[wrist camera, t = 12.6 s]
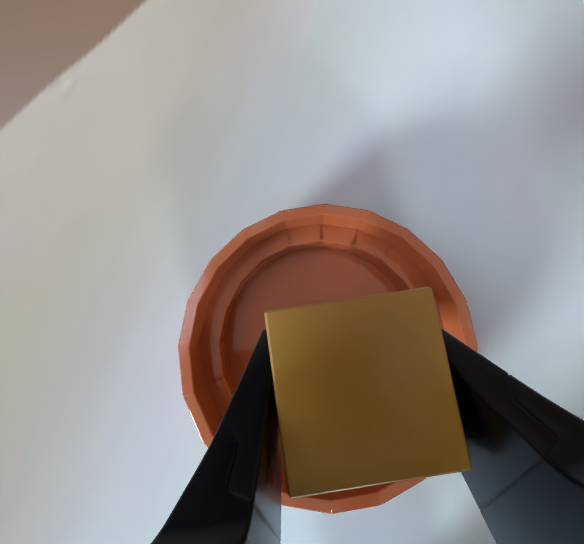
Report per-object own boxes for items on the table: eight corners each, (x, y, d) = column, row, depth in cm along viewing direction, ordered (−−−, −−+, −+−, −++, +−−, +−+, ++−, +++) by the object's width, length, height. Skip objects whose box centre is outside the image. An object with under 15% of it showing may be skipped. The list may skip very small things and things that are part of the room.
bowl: (470, 287, 18) (519, 281, 14) (377, 511, 16) (404, 575, 12) (270, 191, 19) (265, 160, 15) (161, 392, 17) (122, 416, 13)
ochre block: (351, 300, 17) (433, 286, 7) (364, 374, 16) (474, 471, 6) (280, 311, 17) (263, 311, 7) (291, 385, 16) (288, 501, 6)
